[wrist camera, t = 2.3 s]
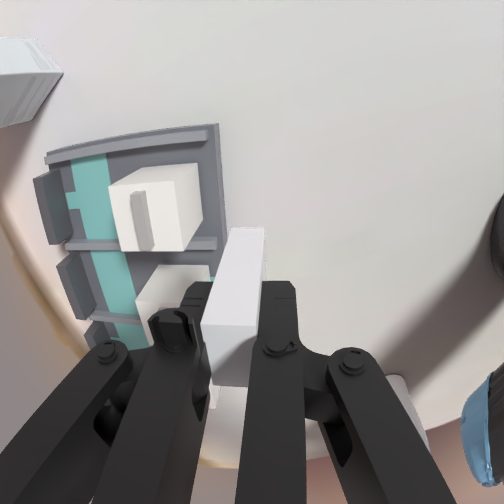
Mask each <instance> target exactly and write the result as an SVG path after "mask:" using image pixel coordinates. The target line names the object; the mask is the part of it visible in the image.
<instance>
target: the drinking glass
mask: <svg viewBox="0 0 504 504" xmlns="http://www.w3.org/2000/svg"><path fill="white" fill-rule="evenodd" d="M385 377H386V378H387V380H388V381H389V383H390V385H391V386H392V388H393V390H394V391H395V393H396V395H397V396H398V398H399V400H400V401H401V403H402V405H403V407H404V408H405V410H406V412H407V413H408V415H409V417H410V419H411V420H412V422H413V424H414V426H415V427H416V429H417V431H418V433H419V434H420V436H421V438H422V440H423V441H424V443H425V445H426V447H427V449H428V450H429V452H430V454H431V451H430V446H429V443H428V439H427V436H426V433H425V431H424V428H423V426H422V423H421V421H420V418H419V416H418V413H417V411H416V409H415V406H414V404H413V401H412V399H411V397H410V394H409V392H408V389H407V386H406V383H405V381H404V379H403V378H402V377H401V376H399V375H395V374H392V375H387V376H385Z"/></svg>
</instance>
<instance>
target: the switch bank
mask: <svg viewBox="0 0 504 504" xmlns="http://www.w3.org/2000/svg"><path fill="white" fill-rule="evenodd" d="M44 159H45V165H47V164H48V165H49V172H47V173H45V174H42V175H40V176H38V177H36V178H34V179H33V183H34V188H35V192H36V197H37V201H38V205H39V210H40V214H41V217H42V221H43V225H44V229H45V232H46V236H47V239H48V242H49V245H58V244H60V243H61V242H62V241H63V240H66V242H65V243H64V246H65V249H66V250H69V253H70V254H69V255H68V256H67V257H66V258H64V259H63V260H62V261H61V262H60V263H59V264H58V265H57V266H56V267H57V270H58V273H59V276H60V279H61V281H62V284H63V287H64V289H65V292H66V295H67V297H68V300H69V302H70V305H71V307H72V310H73V312H74V314H75V317H76V319H80V320H86V319H87V318H88V316H89V317H90V320H93V323H92V324H91V325H90V327H89V328H88V330H87V331H86V333H85V334H84V337H85V339H86V341H87V343H88V345H89V347H90V349H92V348H93V347H94V346H96V345H97V344H98V343H101V342H103V341H106V340H118V341H121V342H122V343H124V344H125V345H126V347H127V349H128V350H135V349H142V348H147V347H151V346H153V345H149V343H148V340H147V337H146V334H145V331H144V328H143V325H142V322H141V319H140V316H139V312H138V309H137V306H136V302H135V300H136V298H137V297H138V295H139V294H140V292H141V291H142V289H143V288H144V286H145V285H146V283H147V282H148V280H149V279H150V277H151V276H152V274H153V273H154V271H155V270H156V268H157V267H158V265H209V272H210V280H211V282H214V280H215V276H216V273H217V270H218V267H219V264H220V261H221V258H222V255H223V252H224V249H225V246H226V243H227V229H226V217H225V204H224V191H223V178H222V164H221V150H220V135H219V123H218V124H205V125H194V126H184V127H175V128H167V129H159V130H152V131H145V132H139V133H132V134H126V135H120V136H115V137H110V138H104V139H99V140H94V141H90V142H85V143H80V144H76V145H72V146H67V147H63V148H59V149H56V150H53V151H50V152H47V156H46V157H44ZM187 163H197V164H198V175H199V185H200V195H201V205H202V214H203V221H202V222H201V224H200V225H199V227H198V229H197V230H196V232H195V234H194V235H193V237H192V238H191V240H190V242H189V243H188V245H187V247H186V248H185V250H184V251H121V247H120V243H119V238H118V234H117V230H116V225H115V220H114V216H113V211H112V206H111V200H110V195H109V190H108V187H109V186H110V185H112V184H114V183H115V182H117V181H119V180H121V179H122V178H124V177H126V176H128V175H130V174H131V173H133V172H135V171H137V170H139V169H141V168H143V167H153V166H163V165H174V164H187Z"/></svg>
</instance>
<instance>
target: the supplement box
mask: <svg viewBox="0 0 504 504" xmlns="http://www.w3.org/2000/svg"><path fill="white" fill-rule="evenodd" d="M62 74H63V71H62V70H61V69H60V67H59V66H58V65H57V63H56V62H55V61H54V59H53V58H52V57H51V56H50V54H49V53H48V52H47V50H46V49H45V48H44V47H43V45H42V44H41V43H40V41H39V40H38V39H31V38H13V37H0V128H4V127H7V126H11V125H15V124H19V123H23V122H27V121H31V120H32V119H33V117H34V116H35V114H36V112H37V111H38V109H39V108H40V106H41V104H42V103H43V101H44V100H45V98H46V97H47V95H48V94H49V92H50V91H51V89H52V88H53V87H54V85H55V84H56V82H57V81H58V80H59V78H60V77H61V76H62Z"/></svg>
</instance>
